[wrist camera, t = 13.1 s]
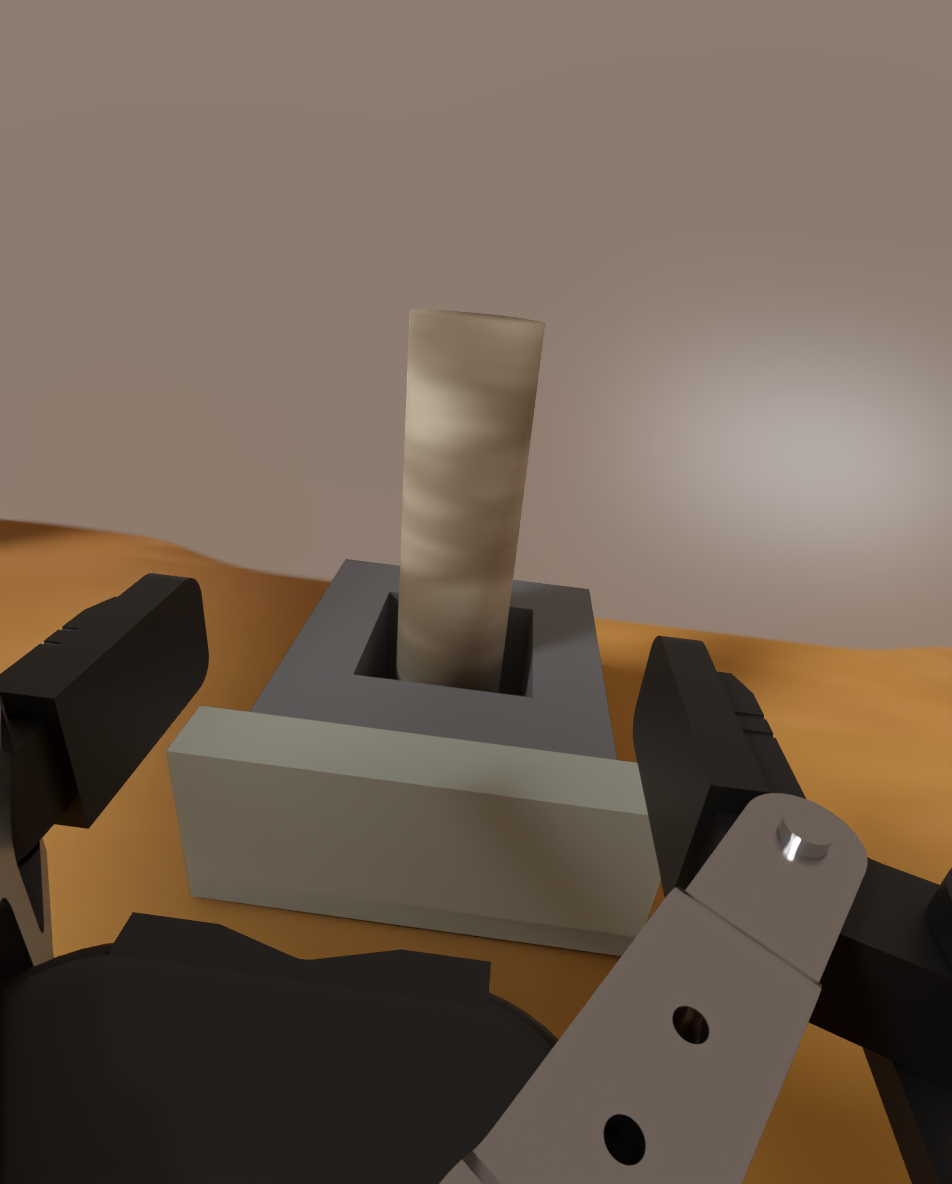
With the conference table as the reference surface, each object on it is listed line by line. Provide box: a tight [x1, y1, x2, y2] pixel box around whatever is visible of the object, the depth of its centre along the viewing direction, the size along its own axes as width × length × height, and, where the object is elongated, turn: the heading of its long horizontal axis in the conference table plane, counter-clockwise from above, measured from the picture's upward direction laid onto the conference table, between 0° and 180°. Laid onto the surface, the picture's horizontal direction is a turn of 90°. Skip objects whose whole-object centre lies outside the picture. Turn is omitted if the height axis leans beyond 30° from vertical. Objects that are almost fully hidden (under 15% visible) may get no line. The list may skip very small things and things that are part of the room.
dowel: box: [396, 310, 545, 693], centre depth 22 cm, size 4×4×16 cm
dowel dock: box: [166, 559, 661, 956], centre depth 26 cm, size 14×16×6 cm
